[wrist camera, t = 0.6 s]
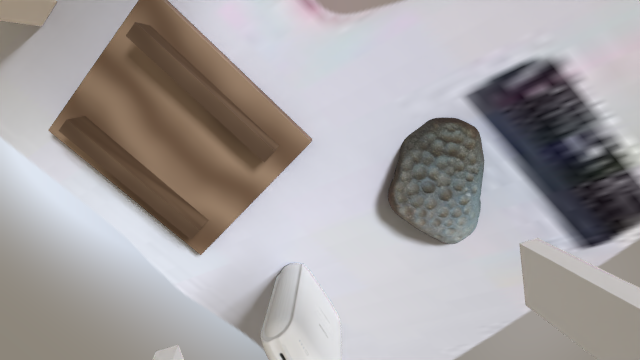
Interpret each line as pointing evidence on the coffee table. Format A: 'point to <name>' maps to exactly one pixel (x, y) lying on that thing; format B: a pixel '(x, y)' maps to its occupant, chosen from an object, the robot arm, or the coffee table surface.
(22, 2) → the beige rectangular block
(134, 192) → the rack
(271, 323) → the white upright flat block
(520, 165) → the coffee table surface
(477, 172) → the fossil
